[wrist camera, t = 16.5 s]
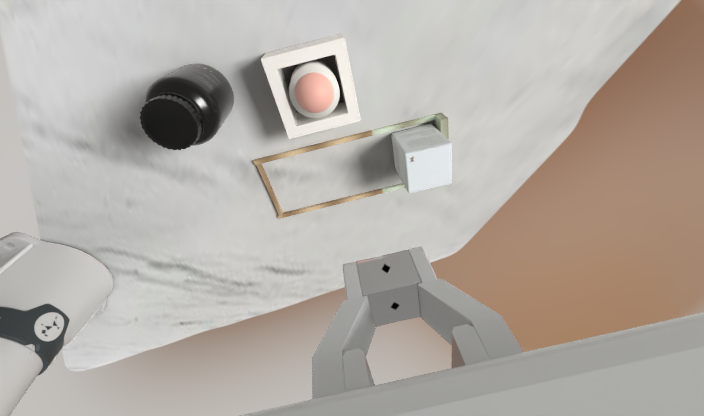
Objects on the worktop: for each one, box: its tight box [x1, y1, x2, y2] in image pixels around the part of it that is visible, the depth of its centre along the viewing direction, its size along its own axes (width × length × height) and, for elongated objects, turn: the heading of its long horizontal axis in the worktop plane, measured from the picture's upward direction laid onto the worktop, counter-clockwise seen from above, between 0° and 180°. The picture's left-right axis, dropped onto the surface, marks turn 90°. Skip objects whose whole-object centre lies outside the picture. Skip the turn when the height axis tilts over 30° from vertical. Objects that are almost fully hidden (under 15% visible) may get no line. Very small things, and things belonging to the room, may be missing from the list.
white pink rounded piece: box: [289, 59, 340, 118], centre depth 34 cm, size 6×6×6 cm
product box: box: [391, 124, 452, 193], centre depth 41 cm, size 6×6×7 cm
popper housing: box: [261, 34, 361, 139], centre depth 35 cm, size 9×9×4 cm
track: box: [253, 113, 448, 219], centre depth 44 cm, size 27×10×2 cm, turn 102°
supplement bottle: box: [140, 64, 234, 150], centre depth 32 cm, size 7×7×12 cm
